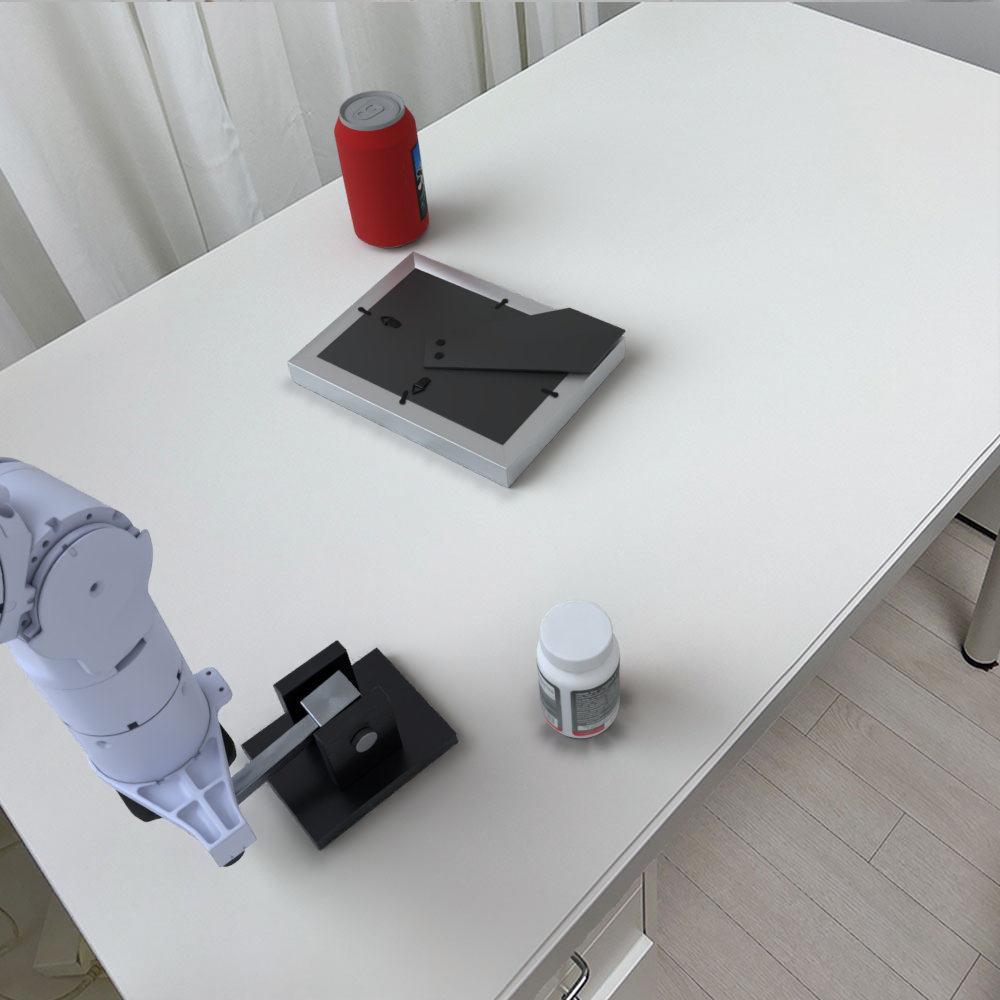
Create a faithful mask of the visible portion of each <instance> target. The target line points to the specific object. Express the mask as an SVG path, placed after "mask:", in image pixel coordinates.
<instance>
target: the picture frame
mask: <svg viewBox="0 0 1000 1000" xmlns="http://www.w3.org/2000/svg"><path fill="white" fill-rule="evenodd" d="M625 333H626V329H624V328H622V327H619V326H617V325H615V324H612V323H609V322H607V321H605V320H602V319H599V318H597V317H594V316H592V315H589V314H588V313H584V312H582V311H580V310H577V309H575V308H572V307H566V308H559V309H556V308H554V307H551V306H549V305H546V304H544V303H542V302H539V301H536V300H534V299H532V298H529V297H526V296H524V295H522V294H520V293H516V292H514V291H512V290H510V289H507V288H505V287H502V286H499V285H497V284H494V283H493V282H490V281H487V280H485V279H482V278H480V277H478V276H475V275H473V274H470V273H468V272H465V271H463V270H460V269H457V268H455V267H453V266H450V265H448V264H445V263H443V262H440V261H437V260H435V259H433V258H431V257H429V256H425V255H423V254H421V253H418V252H415V251H411V252H410V254H408V255H407V256H406V257H405V258H404V259H403V260H401V261H400V262H399V263H398V264H397V265H396V266H395V267H393V268H392V269H391V270H390V271H389V272H388V273H386V274H385V275H384V276H383V277H382V278H381V279H380V280H378V281H377V282H376V283H375V284H374V285H373V286H372V287H371V288H370V289H368V290H367V291H366V292H365V293H364V294H363V295H362V296H361V297H359V298H358V299H357V300H356V301H355V302H353V303H352V304H351V305H350V306H349V307H348V308H346V309H345V310H344V311H343V312H341V314H340V315H339V316H337V317H336V318H335V319H334V320H333V321H332V322H331V323H329V324H328V326H326V327H325V328H324V329H323V330H322V331H321V332H319V333H318V334H317V335H316V336H314V338H312V339H311V340H310V341H309V342H308V343H307V344H305V346H303V348H301V349H300V350H299V351H298V352H296V353H295V354H294V355H293V356H292V357H291V358H289V360H287V362H286V365H287V368H288V371H289V374H290V378H291V381H292V382H293V383H295V384H297V385H299V386H301V387H303V388H305V389H307V390H309V391H311V392H313V393H316V394H317V395H318V396H321V397H323V398H324V399H326V400H329V401H332V402H333V403H335V404H337V405H339V406H342V407H343V408H345V409H347V410H350V411H351V412H354V413H355V414H357V415H359V416H361V417H364V418H366V419H368V420H370V421H372V422H374V423H376V424H378V425H379V426H382V427H384V428H386V429H387V430H390V431H392V432H394V433H396V434H398V435H400V436H402V437H404V438H406V439H407V440H410V441H412V442H414V443H416V444H418V445H420V446H422V447H424V448H426V449H429V450H430V451H431V452H433V453H436V454H438V455H440V456H442V457H444V458H446V459H448V460H450V461H452V462H453V463H454V462H455V463H456V464H458V465H460V466H462V467H464V468H466V469H469V470H470V471H473V472H475V473H477V474H478V475H480V476H483V477H485V478H487V479H488V480H491V481H493V482H494V483H497V484H499V485H500V486H502V487H505V488H506V489H509V488H510V487H511V486H512V485H513V484H514V483H515V481H517V479H518V478H519V477H520V476H521V475H522V473H524V471H525V470H526V469H527V468H528V467H529V466H530V465H531V464H532V463H533V461H534V460H535V459H536V458H537V457H538V456H539V455H540V453H541V452H542V451H543V450H544V449H545V448H546V446H547V445H548V444H549V443H550V442H551V441H552V440H553V439H554V438H555V436H556V435H557V434H558V433H559V432H560V431H561V429H563V428H564V426H566V424H567V423H568V422H569V421H570V420H571V419H572V417H573V416H574V415H575V414H576V413H577V412H578V411H579V409H581V407H582V406H583V405H584V404H585V403H586V402H587V401H588V400H589V398H590V397H591V396H592V395H593V394H594V393H595V392H596V391H597V389H598V388H599V387H600V386H601V385H602V384H603V383H604V382H605V380H606V379H607V378H608V377H609V376H610V375H611V373H612V372H614V370H615V369H616V368H617V367H618V366H619V365H620V363H621V362H622V361H623V360H624V359H625V358H626V337H625V336H624V335H625Z"/></svg>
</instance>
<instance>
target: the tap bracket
mask: <svg viewBox="0 0 1000 1000" xmlns="http://www.w3.org/2000/svg"><path fill="white" fill-rule="evenodd" d="M337 670H340V671H341V672H342V673H343V674H344V676H345V677H346V678H347V679H348V680H349V681H350V682H351V683H352V685H353V686H354V687H355V688H356V689H357V690H358V691H359V692H360V694H361V695H362V698H361V699H359V700H358V701H356V702H355V703H354V704H352V705H351V706H350V707H348V708H347V709H346V710H344V711H343V712H341V713H340V714H339V715H337V716H336V717H335V718H333V719H332V720H331V721H329V722H328V723H327V724H325V725H324V726H322V727H321V728H320V729H318V730H317V731H316V732H314V733H313V735H314V738H315V741H314V742H313V743H312V744H311V745H309V746H308V747H307V748H306V749H305V750H303V751H302V752H301V753H300V754H299V755H297V756H296V757H295V758H294V759H293V760H291V761H290V762H289V763H288V764H287V765H286V766H284V767H283V768H282V769H281V770H280V771H278V772H277V773H276V774H275V775H274V776H272V777H271V778H270V779H269V780H268V781H266V782H265V783H266V784H267V785H268V786H269V787H270V788H271V790H272V791H273V793H274V794H275V795H276V797H278V799H279V800H280V802H281V803H282V804H283V806H284V807H285V808H286V809H287V811H288V812H289V814H290V815H291V816H292V817H293V818H294V820H295V821H296V822H297V823H298V825H299V826H300V827H301V829H302V831H303V832H304V833H305V834H306V836H307V837H308V838H309V839H310V841H311V842H312V843H313V845H314V846H315V847H316V848H317V850H318V851H320V852H321V851H322V850H323V849H325V848H326V847H327V846H328V845H329V844H331V843H332V842H333V841H335V840H336V839H337V838H339V837H341V835H342V834H344V833H345V832H346V831H348V830H349V829H350V828H351V827H353V826H354V825H355V824H356V823H358V822H359V821H360V820H362V819H363V818H364V817H365V816H366V815H367V814H370V812H372V811H373V810H374V809H375V808H377V807H378V806H379V805H380V804H382V803H383V802H384V801H386V800H387V799H388V798H389V797H390V796H392V795H393V794H394V793H395V792H397V791H398V790H400V789H401V788H402V787H403V786H405V785H406V784H407V783H408V782H410V781H411V780H412V779H414V778H415V776H417V775H418V774H420V773H421V772H422V771H424V770H425V769H426V768H427V767H429V766H430V765H432V764H433V763H434V762H435V761H436V760H438V759H439V758H440V757H441V756H443V755H444V754H445V753H447V752H448V751H449V750H450V749H452V748H453V747H454V746H456V745H457V744H458V743H459V740H458V735H457V732H456V730H454V728H453V727H452V726H451V725H450V724H449V723H448V722H447V721H446V720H445V719H444V717H442V715H441V714H440V713H438V711H437V710H436V709H435V708H434V707H433V706H432V705H431V704H430V703H429V701H427V699H426V698H424V697H423V695H422V694H421V693H420V692H419V691H418V690H417V689H416V688H415V686H414V685H413V684H412V683H411V682H410V681H409V680H408V679H407V678H406V676H405V675H403V673H402V672H400V670H399V669H398V668H397V667H396V666H395V665H394V664H393V663H392V662H391V661H390V660H389V658H387V656H386V655H385V654H384V653H383V652H382V651H381V650H380V649H379V648H378V647H375V648H373V649H372V650H371V651H369V652H368V653H366V654H365V655H364V656H363V657H361V658H359V659H358V660H357V661H355V662H354V663H353V664H352V662H351V659H350V656H349V653H348V651H347V649H346V648H345V646H344V645H343V644H342V643H341V642H340V641H339V640H337V639H336V640H334V641H333V642H331V643H330V644H329V645H328V646H325V648H323V649H322V650H320V651H319V652H317V653H316V654H314V655H313V656H312V657H311V658H309V659H307V660H306V661H304V662H303V663H302V664H301V665H299V666H298V667H297V668H295V669H293V670H291V672H289V673H288V674H286V675H284V676H283V677H282V678H280V679H279V680H278V681H276V682H275V683H273V684H272V688H273V690H274V692H275V694H276V696H277V699H278V700H279V701H278V702H279V703H280V705H281V707H282V709H283V712H284V713H283V714H282V715H280V716H278V718H276V719H275V720H272V721H271V722H270V723H269V724H268V725H266V726H265V727H264V728H262V729H261V730H259V731H258V732H257V733H255V734H253V736H251V737H250V738H249V739H247V740H246V741H244V742H243V743H241V744H240V747H241V749H242V752H243V753H244V755H245V756H246V757H247V758H248V760H249V762H251V761H252V760H253V759H254V758H256V757H257V756H258V755H259V754H260V753H262V752H263V751H264V750H265V749H266V748H268V747H269V746H270V745H271V744H272V743H274V742H275V741H276V740H277V739H278V738H280V737H281V736H282V735H283V734H284V733H286V732H287V731H288V730H289V729H291V728H292V727H293V726H294V725H295V724H297V723H298V722H299V721H300V720H301V719H303V718H304V717H305V716H306V715H307V714H308V713H307V712H306V710H305V709H304V708H303V706H302V705H301V704H300V701H301V700H302V699H303V698H305V697H306V696H307V695H308V694H310V693H311V692H312V691H313V690H314V689H316V688H317V687H318V686H319V685H320V684H322V683H323V682H324V681H325V680H327V679H328V678H329V677H330V676H331V675H333V674H334V673H335V672H336V671H337Z"/></svg>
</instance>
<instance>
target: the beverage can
mask: <svg viewBox="0 0 1000 1000" xmlns="http://www.w3.org/2000/svg"><path fill="white" fill-rule="evenodd" d="M333 135H334V139H335V145H336V149H337V150H336V151H337V155H338V160H339V165H340V170H341V175H342V180H343V186H344V189H345V194H346V200H347V204H348V208H349V213H350V219H351V222H352V226H353V231H354V234H355V235H356V237H357V238H358V239H359V240H360V241H362V243H364V244H367V245H370V246H372V247H378V248H385V249H389V248H390V249H391V248H392V249H393V248H398V247H403V246H405V245H407V244H409V243H412V242H414V241H415V240H417V239H419V238H420V237H421V236H423V234H424V233H425V232H426V230H428V229H427V228H428V227H429V223H430V214H429V208H428V199H427V192H426V184H425V177H424V170H423V163H422V155H421V149H420V142H419V135H418V130H417V121H416V118H415V116H414V115H413V113H412V111H410V110H409V108H408V107H407V106H406V104H405V102H404V100H403V98H402V97H401V96H400V95H398V94H396V93H394V92H391V91H387V90H368V91H363V92H360V93H356V94H354V95H351V96H350V97H348V98H347V99H346V100H344V101H343V103H342V104H341V105H340V106H339V108H338V116H337V120H336V122H335V125H334V129H333Z"/></svg>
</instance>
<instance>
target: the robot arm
mask: <svg viewBox="0 0 1000 1000" xmlns="http://www.w3.org/2000/svg"><path fill="white" fill-rule="evenodd" d="M153 562H154V549H153V541H152V537H151V534H150V532H149V530H148V529H147V528H144V529H142V530H140V529H139V528H138V527H136V526H134V524H133V523H132V521H131V519H129V518H128V517H127V516H126V514H124V513H123V512H121V511H120V510H118V509H115V508H114V507H112V506H110V505H108V504H107V503H104V502H102V501H100V500H99V499H97V498H96V497H94V496H91V495H90V494H88V493H86V492H84V491H82V490H81V489H79V488H77V487H75V486H73V485H72V484H69V483H67V482H65V481H64V480H61V479H60V478H58V477H56V476H54V475H53V474H51V473H49V472H47V471H45V470H43V469H41V468H39V467H38V466H36V465H33V464H30V463H27V462H24V461H22V460H19V459H18V458H14V457H9V456H0V645H3V644H5V645H6V647H7V648H8V649H9V650H10V652H11V655H12V657H13V659H14V661H15V662H16V664H17V666H18V667H19V668H20V669H21V671H22V672H23V673H24V674H25V676H26V677H27V678H28V680H29V681H30V682H31V683H32V684H33V685H34V688H36V690H37V692H39V694H40V695H41V696H42V697H43V699H44V700H45V701H46V703H47V704H48V705H49V706H50V709H52V711H53V712H54V714H56V715H57V717H58V719H59V720H60V721H61V722H62V724H63V725H64V726H65V727H66V729H67V730H68V732H69V733H70V734H71V736H72V737H73V738H74V739H75V741H76V742H77V743H78V745H80V748H82V750H83V751H84V752H85V757H86V759H87V762H88V763H89V766H90V768H91V769H92V770H93V772H94V773H95V774H96V775H97V777H98V778H99V779H100V780H101V781H102V782H103V783H104V784H106V785H107V786H109V787H110V788H112V789H114V790H115V792H117V794H118V796H119V797H120V799H121V800H122V802H123V803H124V805H125V806H126V808H127V809H128V811H129V812H130V814H132V815H133V816H134V817H135V818H137V820H140V821H142V822H144V823H150V822H153V821H156V820H159V819H165V820H166V821H168V822H169V823H171V824H172V825H174V826H176V827H178V828H180V829H181V830H183V831H185V832H186V833H188V834H189V835H190V836H192V837H193V838H195V839H196V840H197V841H198V842H199V843H200V844H201V845H202V846H203V848H205V850H206V851H207V852H208V853H209V855H210V856H211V857H212V859H213V860H214V862H215V863H216V865H217V866H218V868H223V866H224V865H225V864H227V863H228V862H229V861H231V860H232V859H234V858H235V857H236V856H238V855H239V854H240V853H242V852H243V851H244V850H245V851H246V849H248V848H249V847H250V846H251V845H253V844H254V843H255V842H257V841H258V838H257V836H256V834H255V832H254V830H253V829H252V828H251V825H250V823H249V822H248V820H247V819H246V817H245V816H244V815H243V813H242V811H241V809H240V806H239V805H238V803H237V799H236V796H235V792H234V788H233V783H232V779H231V777H232V775H231V770H230V767H231V766H232V764H233V763H234V762H235V761H236V759H237V756H238V754H237V748H236V745H235V742H234V740H233V738H232V737H231V736H230V734H229V733H228V731H227V730H226V729H225V728H224V726H223V724H221V722H220V721H219V712H220V710H221V709H222V708H223V707H224V706H226V705H227V704H228V703H229V702H230V701H231V700H232V698H233V691H232V689H231V687H230V685H229V683H228V682H227V681H226V679H225V678H224V677H223V676H222V675H221V673H220V672H219V671H218V669H216V668H215V667H212V666H207V667H204V668H202V669H201V670H199V671H197V672H195V673H193V671H192V670H191V667H190V666H189V665H188V662H187V661H186V659H185V656H184V655H183V653H182V652H181V649H180V648H179V645H178V644H177V642H176V640H175V638H174V636H173V635H172V633H171V631H170V629H169V627H168V626H167V623H166V622H165V620H164V618H163V616H162V615H161V613H160V611H159V608H158V607H157V605H156V603H155V602H154V600H153V598H152V596H151V594H150V593H149V582H150V577H151V574H152V570H153V569H152V568H153ZM231 857H232V858H231Z"/></svg>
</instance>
